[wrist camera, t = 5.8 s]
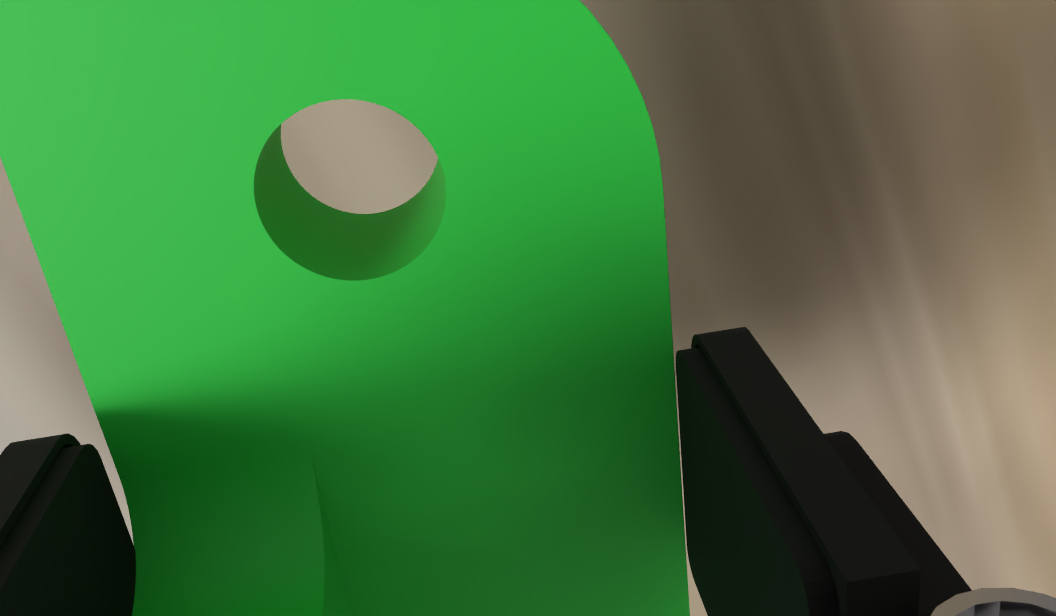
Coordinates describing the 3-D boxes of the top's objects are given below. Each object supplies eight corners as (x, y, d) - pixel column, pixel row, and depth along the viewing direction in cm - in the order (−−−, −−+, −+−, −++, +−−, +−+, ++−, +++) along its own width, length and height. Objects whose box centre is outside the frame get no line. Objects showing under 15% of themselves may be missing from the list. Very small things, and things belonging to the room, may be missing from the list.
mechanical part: (666, 690, 15) (899, 1448, 8) (287, 757, 15) (166, 1608, 8) (600, -146, 10) (1102, -182, 3) (14, -69, 10) (-1191, 132, 2)
